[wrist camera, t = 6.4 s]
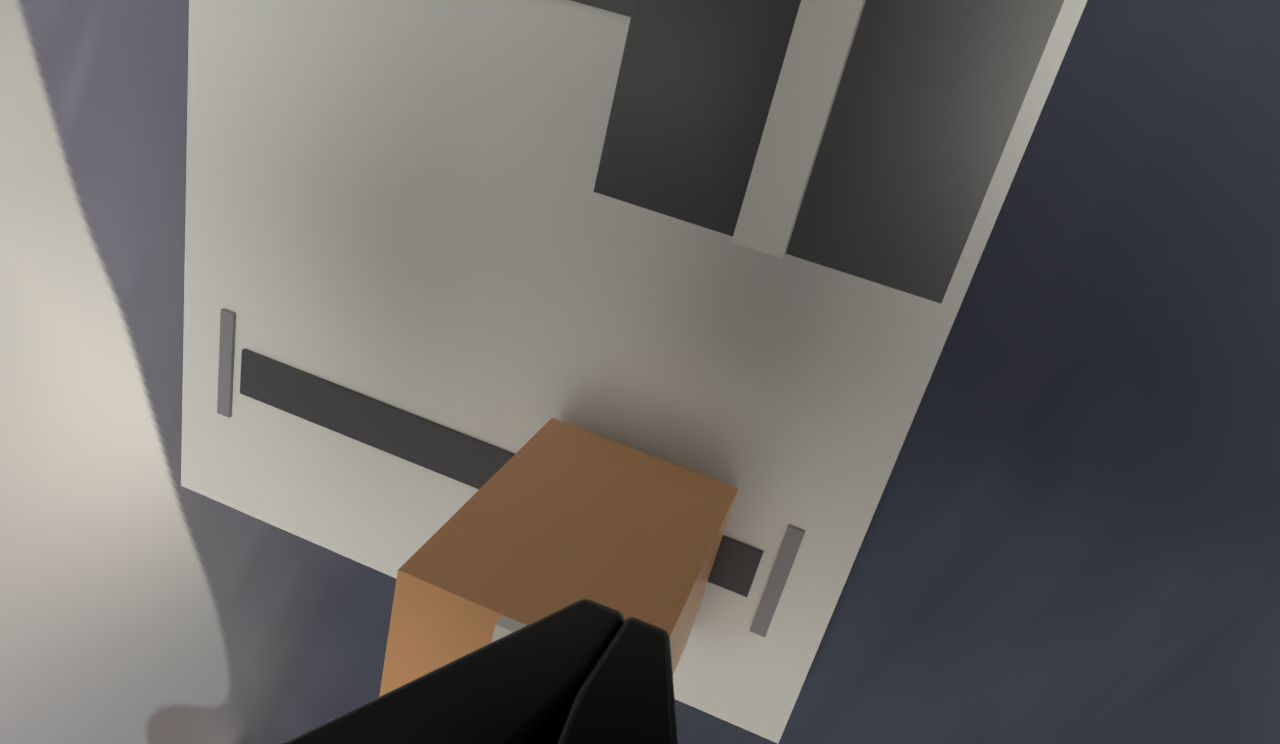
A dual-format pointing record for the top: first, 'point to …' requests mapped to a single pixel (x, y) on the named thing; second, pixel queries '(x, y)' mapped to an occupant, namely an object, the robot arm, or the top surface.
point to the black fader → (824, 124)
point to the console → (522, 309)
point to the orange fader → (559, 550)
